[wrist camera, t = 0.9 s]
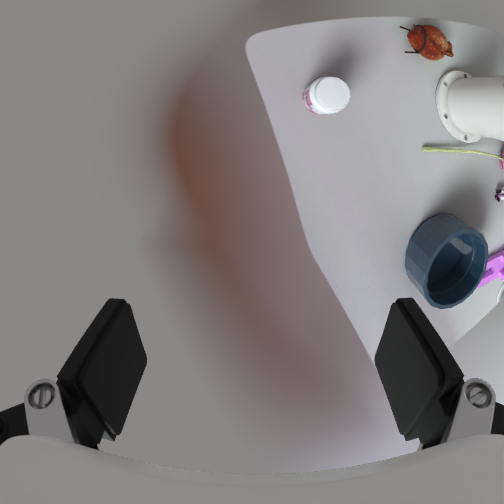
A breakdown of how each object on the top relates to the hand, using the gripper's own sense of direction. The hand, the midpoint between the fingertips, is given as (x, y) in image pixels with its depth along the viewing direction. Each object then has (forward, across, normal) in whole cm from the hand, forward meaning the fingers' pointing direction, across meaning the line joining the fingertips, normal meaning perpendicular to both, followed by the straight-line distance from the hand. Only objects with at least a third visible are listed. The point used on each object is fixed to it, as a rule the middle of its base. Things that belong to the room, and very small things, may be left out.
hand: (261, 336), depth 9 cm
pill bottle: (+33, -8, -11) cm, 36 cm away
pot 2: (+26, -24, -24) cm, 43 cm away
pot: (+33, -32, +12) cm, 47 cm away
